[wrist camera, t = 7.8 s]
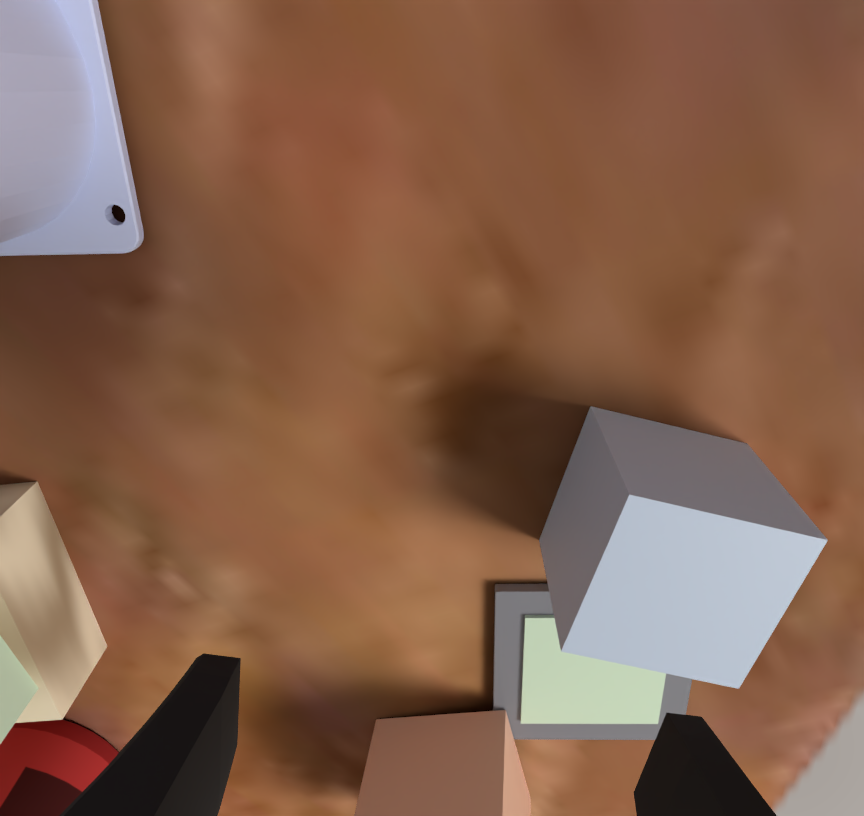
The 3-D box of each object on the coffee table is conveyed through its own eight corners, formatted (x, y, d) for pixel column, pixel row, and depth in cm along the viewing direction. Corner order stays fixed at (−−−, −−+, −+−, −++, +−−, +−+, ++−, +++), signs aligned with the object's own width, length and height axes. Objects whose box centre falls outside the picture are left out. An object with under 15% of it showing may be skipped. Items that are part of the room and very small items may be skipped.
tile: (494, 583, 23) (495, 594, 23) (704, 583, 23) (709, 593, 23) (492, 730, 26) (492, 742, 26) (678, 730, 26) (682, 743, 26)
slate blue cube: (590, 404, 21) (628, 494, 16) (746, 442, 21) (827, 540, 16) (538, 538, 23) (561, 651, 18) (681, 570, 23) (738, 688, 19)
